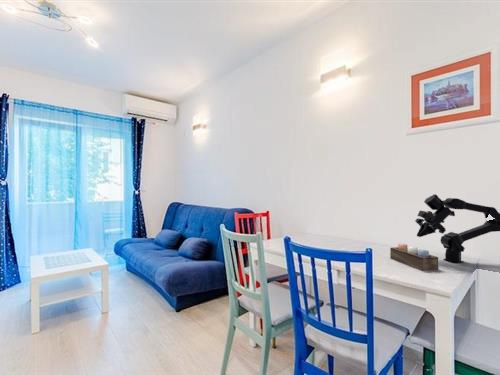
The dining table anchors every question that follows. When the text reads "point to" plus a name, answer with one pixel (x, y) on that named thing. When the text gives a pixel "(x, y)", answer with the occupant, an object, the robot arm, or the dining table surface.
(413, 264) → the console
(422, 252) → the slate button
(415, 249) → the cream button
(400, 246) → the terracotta button
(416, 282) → the dining table surface
